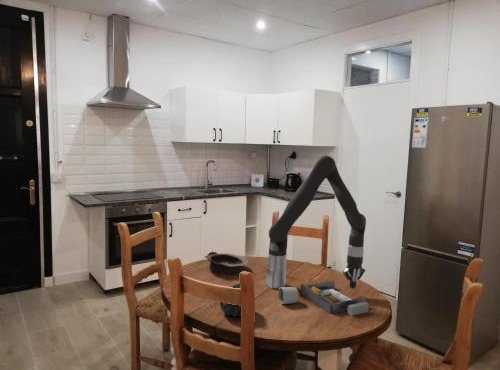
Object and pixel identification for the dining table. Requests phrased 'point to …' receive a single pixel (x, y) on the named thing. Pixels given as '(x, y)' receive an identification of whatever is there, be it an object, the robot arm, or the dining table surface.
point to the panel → (357, 308)
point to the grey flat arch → (335, 294)
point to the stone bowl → (225, 262)
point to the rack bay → (315, 295)
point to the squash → (231, 306)
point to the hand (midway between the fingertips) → (352, 288)
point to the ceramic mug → (288, 295)
